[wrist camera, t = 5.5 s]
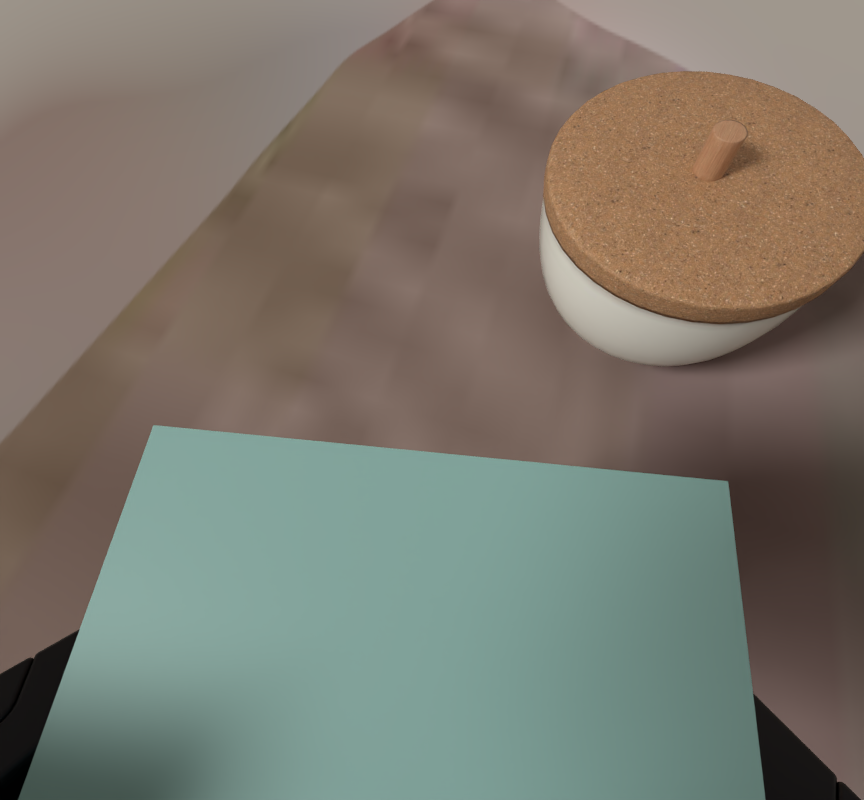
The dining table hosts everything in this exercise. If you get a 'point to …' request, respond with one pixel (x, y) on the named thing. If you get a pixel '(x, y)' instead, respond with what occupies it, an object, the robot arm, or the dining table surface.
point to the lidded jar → (695, 215)
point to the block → (405, 633)
